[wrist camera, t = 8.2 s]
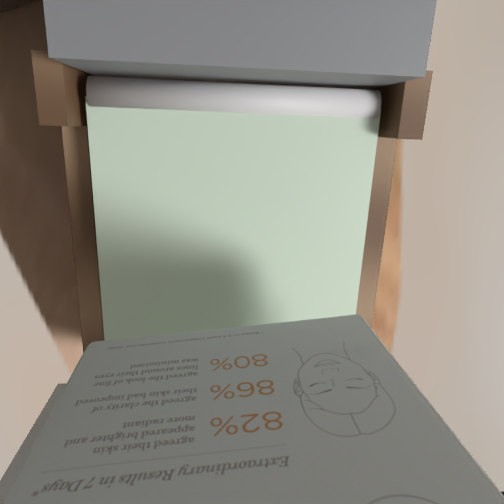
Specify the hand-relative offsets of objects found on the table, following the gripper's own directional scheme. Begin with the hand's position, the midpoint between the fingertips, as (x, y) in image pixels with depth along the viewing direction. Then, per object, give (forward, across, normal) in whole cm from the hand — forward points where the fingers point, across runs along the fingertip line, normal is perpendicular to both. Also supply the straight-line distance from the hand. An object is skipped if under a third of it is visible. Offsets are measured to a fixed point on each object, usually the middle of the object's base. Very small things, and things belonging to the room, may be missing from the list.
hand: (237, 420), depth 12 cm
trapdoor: (+7, 0, +5) cm, 9 cm away
